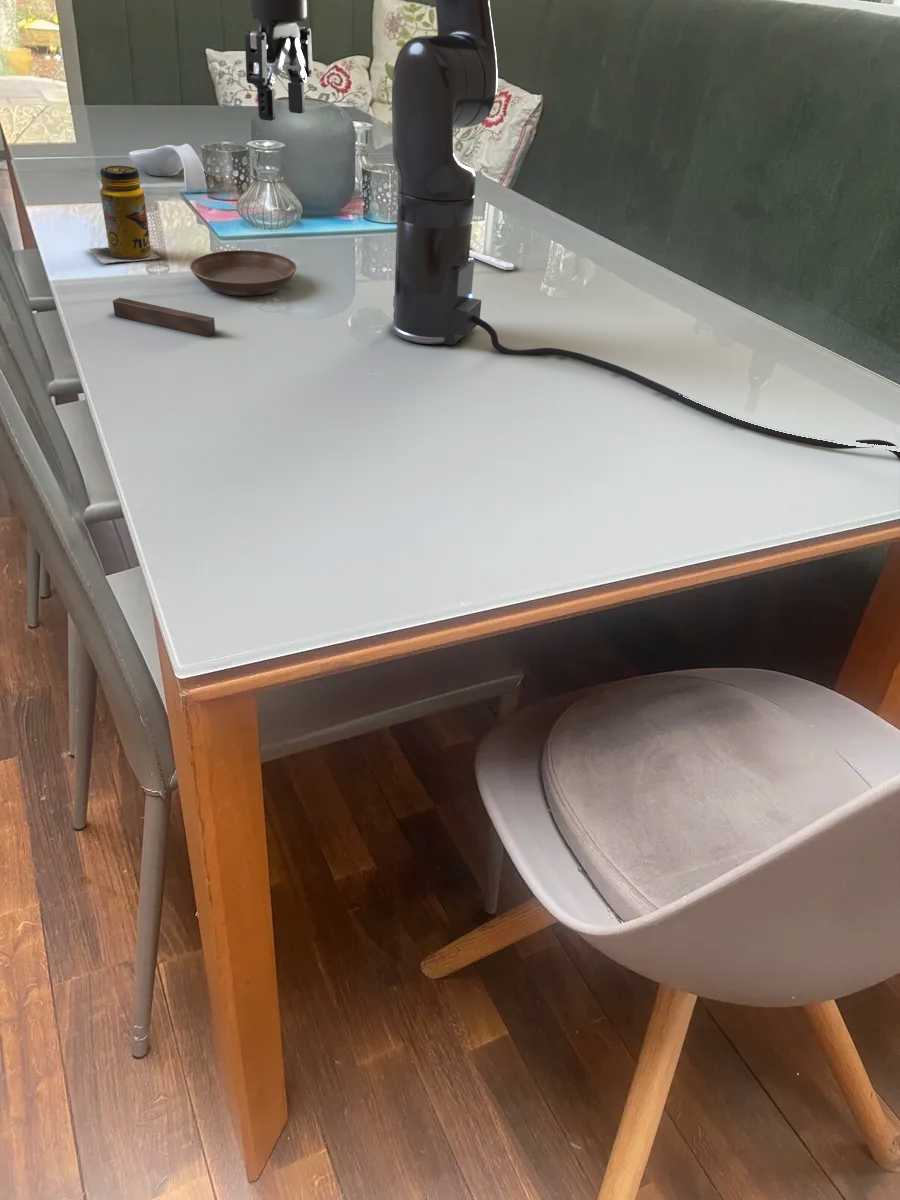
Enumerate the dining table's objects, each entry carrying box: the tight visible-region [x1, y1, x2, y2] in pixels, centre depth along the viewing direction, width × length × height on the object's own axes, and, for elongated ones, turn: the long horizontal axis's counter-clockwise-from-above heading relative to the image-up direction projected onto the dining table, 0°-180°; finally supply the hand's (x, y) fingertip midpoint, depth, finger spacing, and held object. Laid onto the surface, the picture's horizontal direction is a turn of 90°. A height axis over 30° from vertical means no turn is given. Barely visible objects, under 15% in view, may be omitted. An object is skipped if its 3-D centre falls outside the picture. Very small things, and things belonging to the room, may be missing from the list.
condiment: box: [88, 164, 161, 264], centre depth 131 cm, size 7×8×12 cm
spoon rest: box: [128, 143, 208, 193], centre depth 174 cm, size 24×12×7 cm, turn 37°
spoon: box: [469, 249, 515, 271], centre depth 147 cm, size 5×18×1 cm, turn 44°
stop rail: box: [112, 297, 216, 337], centre depth 113 cm, size 14×2×2 cm, turn 69°
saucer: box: [189, 249, 298, 297], centre depth 127 cm, size 15×15×3 cm
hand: (282, 116), depth 126 cm, fingers open, 8 cm apart
